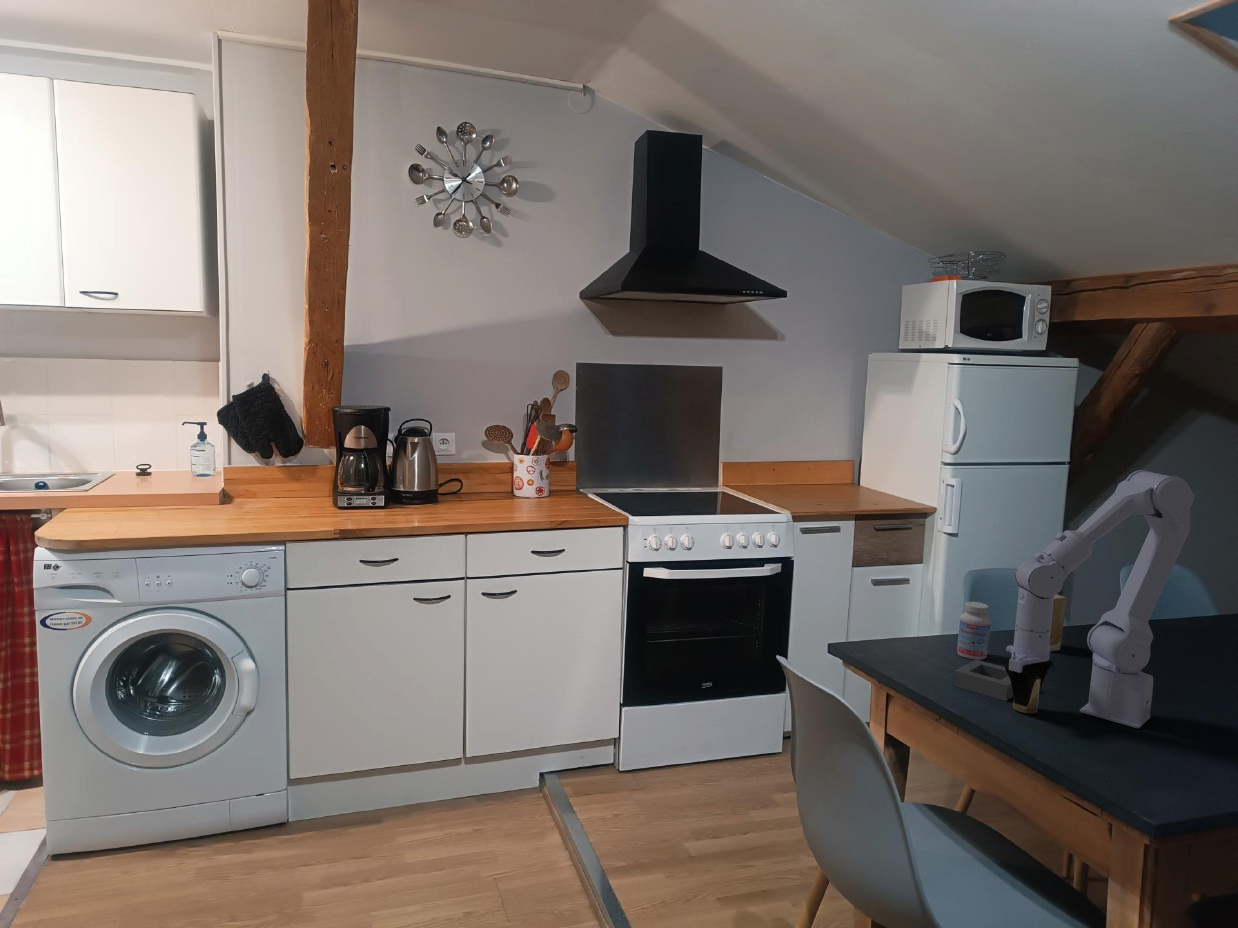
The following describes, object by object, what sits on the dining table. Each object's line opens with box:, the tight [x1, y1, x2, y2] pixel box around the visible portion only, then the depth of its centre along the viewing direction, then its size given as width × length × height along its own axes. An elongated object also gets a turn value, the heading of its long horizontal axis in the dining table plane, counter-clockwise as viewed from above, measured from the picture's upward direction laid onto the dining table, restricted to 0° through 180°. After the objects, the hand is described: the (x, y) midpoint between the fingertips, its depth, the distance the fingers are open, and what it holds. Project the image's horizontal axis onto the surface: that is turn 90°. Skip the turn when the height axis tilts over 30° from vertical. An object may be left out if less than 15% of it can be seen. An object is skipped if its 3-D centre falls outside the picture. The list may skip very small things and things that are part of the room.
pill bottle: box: [956, 601, 992, 661], centre depth 185 cm, size 6×6×11 cm
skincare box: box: [1049, 593, 1068, 652], centre depth 193 cm, size 6×4×12 cm
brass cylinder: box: [1012, 677, 1040, 715], centre depth 156 cm, size 4×4×6 cm
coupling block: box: [952, 659, 1013, 702], centre depth 167 cm, size 10×10×3 cm
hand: (1025, 701), depth 156 cm, fingers closed on brass cylinder, 4 cm apart
